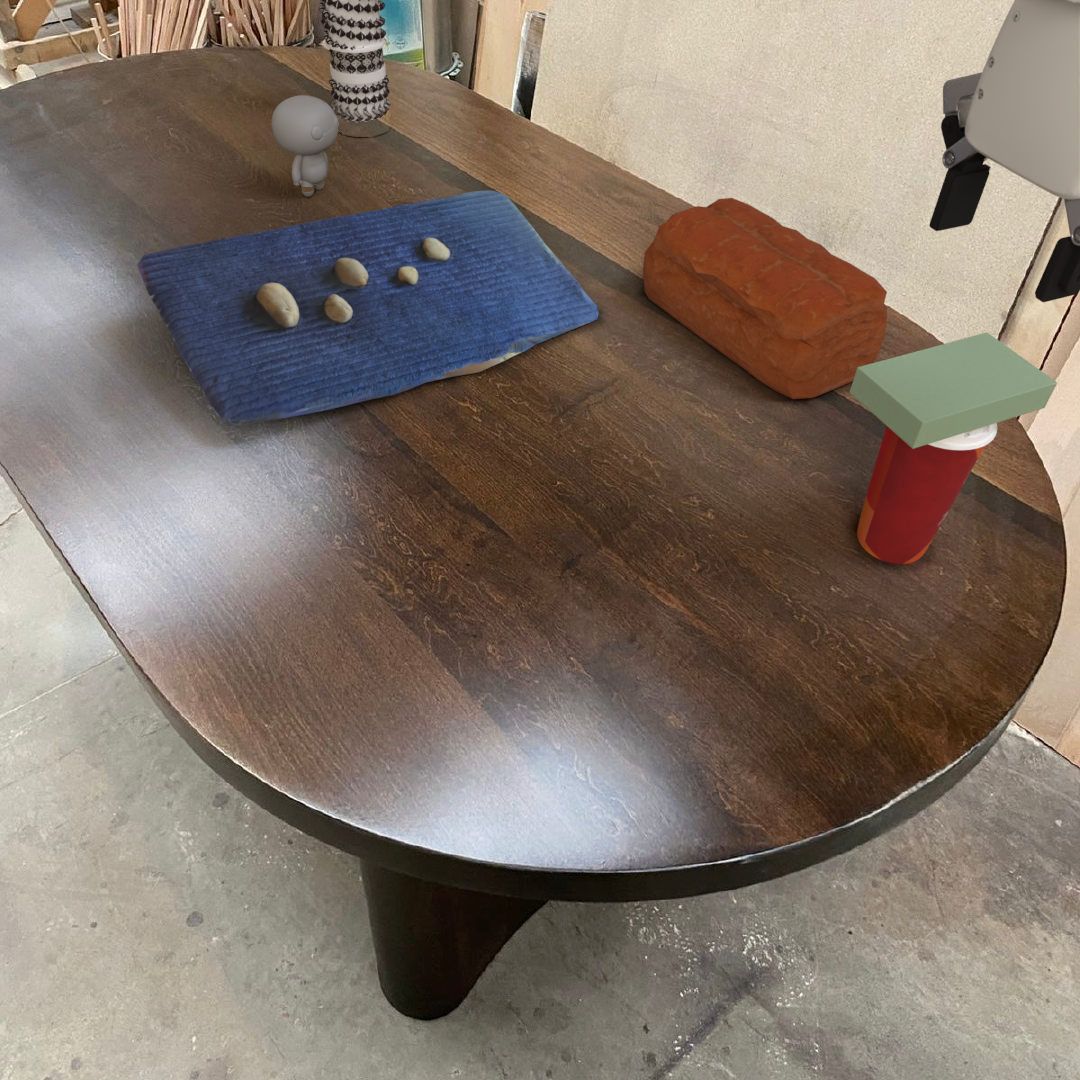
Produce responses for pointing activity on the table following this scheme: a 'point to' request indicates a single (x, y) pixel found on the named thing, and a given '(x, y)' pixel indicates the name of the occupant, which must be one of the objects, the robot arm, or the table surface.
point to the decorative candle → (356, 58)
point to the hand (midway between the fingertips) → (999, 259)
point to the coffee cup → (915, 492)
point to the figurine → (306, 137)
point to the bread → (766, 297)
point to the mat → (361, 304)
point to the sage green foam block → (951, 389)
